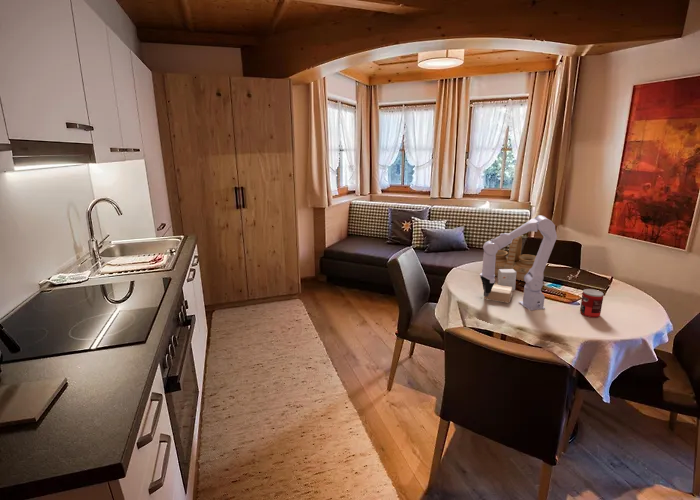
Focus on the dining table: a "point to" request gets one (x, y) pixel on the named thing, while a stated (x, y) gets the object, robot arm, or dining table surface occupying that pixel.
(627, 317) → the dining table surface
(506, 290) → the carton
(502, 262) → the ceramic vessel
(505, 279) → the small box
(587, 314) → the canned food
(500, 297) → the tan cardboard box
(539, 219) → the robot arm
